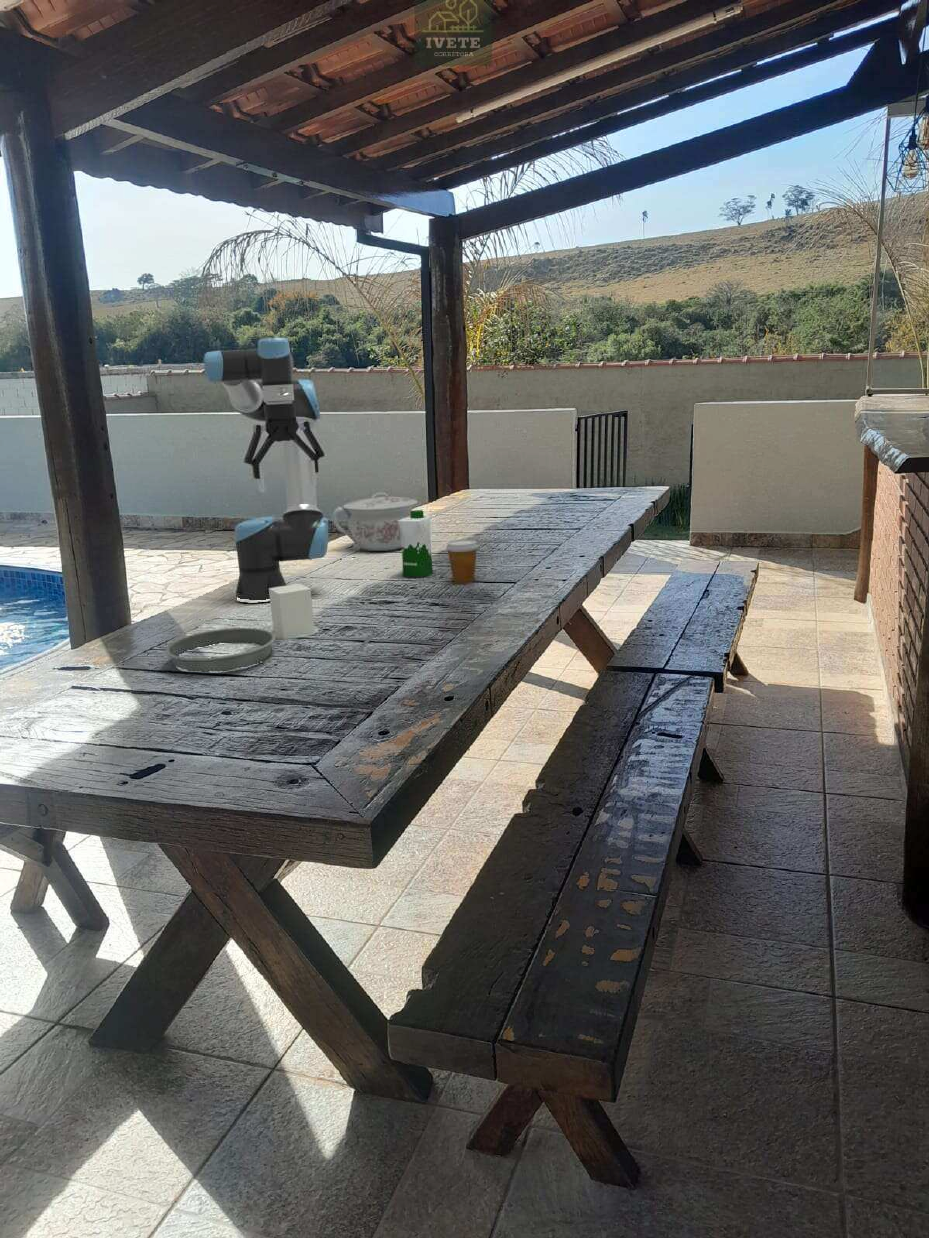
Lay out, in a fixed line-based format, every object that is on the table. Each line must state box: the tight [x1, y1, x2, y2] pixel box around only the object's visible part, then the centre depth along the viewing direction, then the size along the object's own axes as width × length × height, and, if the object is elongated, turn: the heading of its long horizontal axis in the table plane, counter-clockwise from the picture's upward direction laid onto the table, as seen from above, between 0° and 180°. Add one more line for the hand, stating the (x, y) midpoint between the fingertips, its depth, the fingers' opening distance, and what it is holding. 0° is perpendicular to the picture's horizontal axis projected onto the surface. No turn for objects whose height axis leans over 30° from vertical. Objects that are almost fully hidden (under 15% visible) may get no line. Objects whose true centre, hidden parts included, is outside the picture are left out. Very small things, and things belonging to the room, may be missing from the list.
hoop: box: [164, 627, 277, 672], centre depth 212 cm, size 25×25×4 cm
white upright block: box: [269, 582, 315, 639], centre depth 229 cm, size 8×8×11 cm
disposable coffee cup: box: [445, 539, 479, 585], centre depth 278 cm, size 10×10×12 cm
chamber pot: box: [332, 492, 419, 552], centre depth 339 cm, size 28×28×21 cm
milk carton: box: [398, 509, 434, 579], centre depth 290 cm, size 9×9×20 cm
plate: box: [270, 625, 319, 640], centre depth 231 cm, size 12×12×1 cm
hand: (288, 489), depth 235 cm, fingers open, 13 cm apart
